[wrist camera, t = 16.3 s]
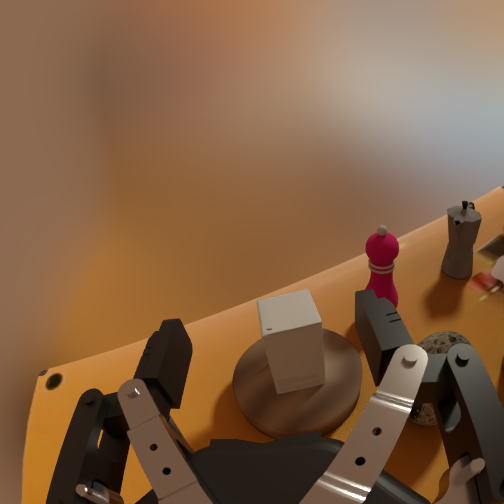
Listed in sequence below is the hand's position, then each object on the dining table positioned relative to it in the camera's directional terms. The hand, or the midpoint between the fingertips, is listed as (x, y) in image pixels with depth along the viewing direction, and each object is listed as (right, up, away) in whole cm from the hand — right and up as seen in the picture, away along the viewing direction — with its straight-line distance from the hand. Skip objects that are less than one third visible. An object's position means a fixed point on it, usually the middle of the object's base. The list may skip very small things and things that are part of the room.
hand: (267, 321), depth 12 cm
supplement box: (+6, -15, +28) cm, 32 cm away
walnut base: (+7, -19, +30) cm, 37 cm away
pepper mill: (+25, -10, +40) cm, 48 cm away
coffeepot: (+51, -1, +46) cm, 69 cm away
